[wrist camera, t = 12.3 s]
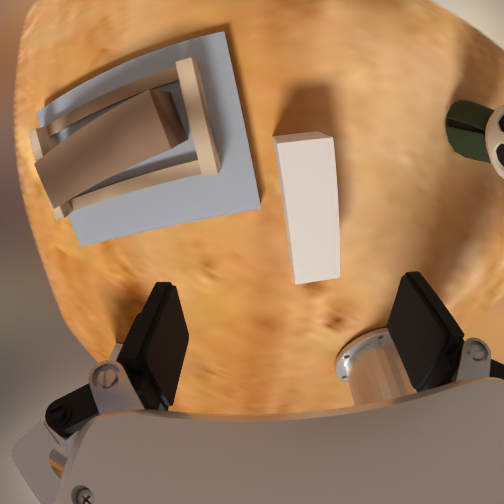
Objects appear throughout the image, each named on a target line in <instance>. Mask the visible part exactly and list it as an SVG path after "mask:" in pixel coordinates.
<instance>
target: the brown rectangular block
mask: <svg viewBox="0 0 504 504" xmlns="http://www.w3.org/2000/svg"><path fill="white" fill-rule="evenodd" d="M186 140H188V138H187V135H186V133H185V130H184V127H183V125H182V122H181V119H180V117H179V114H178V111H177V109H176V106H175V103H174V100H173V98H172V95H171V92H167V91H159V90H150V89H148V90H146V91H144V92H142V93H140V94H138V95H137V96H135V97H133V98H131V99H129V100H127V101H125V102H123V103H122V104H120V105H118V106H116V107H115V108H113V109H111V110H109V111H108V112H106V113H104V114H103V115H101V116H99V117H98V118H96V119H95V120H93V121H91V122H90V123H88V124H87V125H85V126H84V127H82V128H81V129H79V130H78V131H76V132H75V133H73V134H72V135H71V136H69V137H68V138H66V139H65V140H64V141H62V142H61V143H60V144H58V145H57V146H56V147H54V148H53V149H52V150H50V151H49V152H48V153H47V154H45V155H44V156H43V157H42V158H40V159H39V160H38V161H37V162H36V163H34V164H35V167H36V170H37V172H38V174H39V177H40V179H41V182H42V184H43V186H44V189H45V191H46V193H47V195H48V198H49V200H50V202H51V204H52V206H53V208H54V209H55V208H57V207H58V206H60V205H61V204H63V203H65V202H66V201H68V200H70V199H71V198H73V197H75V196H77V195H78V194H80V193H82V192H84V191H85V190H87V189H89V188H91V187H93V186H94V185H96V184H98V183H100V182H102V181H104V180H106V179H108V178H110V177H112V176H113V175H115V174H117V173H119V172H121V171H124V170H126V169H128V168H130V167H132V166H134V165H136V164H138V163H140V162H143V161H145V160H147V159H149V158H151V157H154V156H156V155H158V154H161V153H163V152H165V151H168V150H170V149H172V148H174V147H176V146H177V145H179V144H181V143H183V142H185V141H186Z"/></svg>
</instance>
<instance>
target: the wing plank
mask: <svg viewBox="0 0 504 504" xmlns="http://www.w3.org/2000/svg"><path fill="white" fill-rule="evenodd" d="M272 137H273V143H274V150H275V156H276V162H277V169H278V175H279V182H280V189H281V196H282V203H283V210H284V217H285V225H286V232H287V240H288V248H289V256H290V261H291V266H292V270H293V275H294V280H295V284H302V283H309V282H315V281H321V280H327V279H333V278H339V277H340V236H339V207H338V189H337V175H336V162H335V151H334V142H333V137H331V136H328V135H326V134H324V133H321V132H319V131H314V132H304V133H295V134H287V135H280V136H272Z"/></svg>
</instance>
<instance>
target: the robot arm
mask: <svg viewBox="0 0 504 504" xmlns="http://www.w3.org/2000/svg"><path fill="white" fill-rule="evenodd" d="M463 337H464V333H463V332H462V330H461V328H460V327H459V325H458V324H457V322H456V321H455V320H454V318H453V317H452V315H451V314H450V312H449V311H448V309H447V308H446V307H445V305H444V304H443V302H442V301H441V300H440V298H439V297H438V296H437V294H436V293H435V292H434V290H433V289H432V288H431V286H430V285H429V284H428V282H427V281H426V280H425V279H424V277H423V276H422V275H421V274H420V272H417V271H416V272H407V273H405V275H404V276H402V278H401V281H400V285H399V288H398V292H397V295H396V298H395V302H394V305H393V308H392V311H391V314H390V317H389V320H388V324H387V328H381V329H377V330H374V331H371V332H368V333H366V334H364V335H362V336H360V337H358V338H356V339H355V340H353V341H352V342H351V343H349V344H348V345H347V346H346V347H345V348H344V349H343V350H342V351H341V352H340V353H339V355H338V356H337V358H336V360H335V371H336V375H337V376H338V377H339V378H340V379H341V380H343V381H345V382H349V385H350V389H351V393H352V397H353V401H354V405H355V406H352V407H346V408H339V409H331V410H323V411H313V412H302V413H288V414H267V415H226V414H202V413H187V412H175V411H168V407H169V406H172V405H173V402H174V398H175V394H176V390H177V385H178V381H179V377H180V373H181V369H182V365H183V361H184V357H185V353H186V349H187V345H188V341H189V333H188V329H187V326H186V322H185V319H184V315H183V311H182V307H181V304H180V300H179V296H178V292H177V288H176V286H172V284H171V282H157V283H156V284H155V286H154V288H153V290H152V292H151V294H150V296H149V298H148V300H147V302H146V304H145V306H144V308H143V310H142V312H141V313H139V314H138V315H137V317H136V318H135V321H134V323H133V325H132V327H131V329H130V331H129V333H128V335H127V337H126V339H125V342H124V344H123V346H122V348H121V350H120V352H119V355H118V357H117V359H116V361H112V360H107V361H103V362H100V363H99V364H97V365H96V366H94V367H93V368H92V370H91V372H90V373H89V377H88V381H89V384H87V385H85V386H83V387H81V388H79V389H77V390H75V391H73V392H71V393H69V394H67V395H65V396H63V397H61V398H59V399H57V400H55V401H54V402H52V403H51V404H50V405H49V406H48V408H47V410H46V414H45V419H46V420H44V421H42V420H40V421H38V422H37V423H36V424H35V425H34V426H33V427H32V428H31V429H30V430H29V431H28V432H27V433H25V434H24V436H22V437H21V438H20V439H19V440H18V441H17V442H16V443H15V445H14V446H13V448H12V458H13V460H14V462H15V464H16V466H17V467H18V469H19V471H20V472H21V474H22V476H23V478H24V479H25V481H26V482H27V484H28V485H29V487H30V488H31V490H32V491H33V493H34V494H35V496H36V497H37V499H38V500H39V501H40V503H41V504H504V365H503V364H501V363H499V362H497V361H495V360H492V359H491V351H490V349H489V347H488V346H487V344H486V343H485V342H483V341H482V340H480V339H478V338H469V339H467V340H466V341H464V340H463Z"/></svg>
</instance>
